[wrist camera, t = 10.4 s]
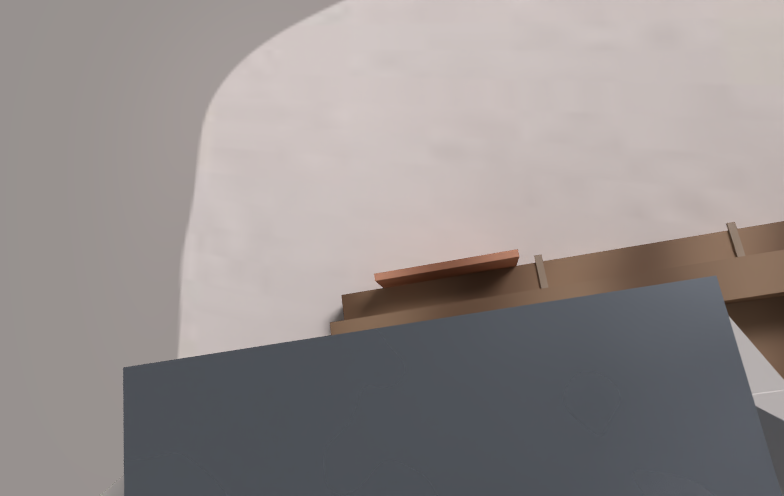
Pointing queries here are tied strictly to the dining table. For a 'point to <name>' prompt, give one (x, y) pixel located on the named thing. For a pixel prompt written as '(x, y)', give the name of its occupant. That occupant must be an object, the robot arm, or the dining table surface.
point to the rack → (590, 282)
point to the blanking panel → (465, 407)
